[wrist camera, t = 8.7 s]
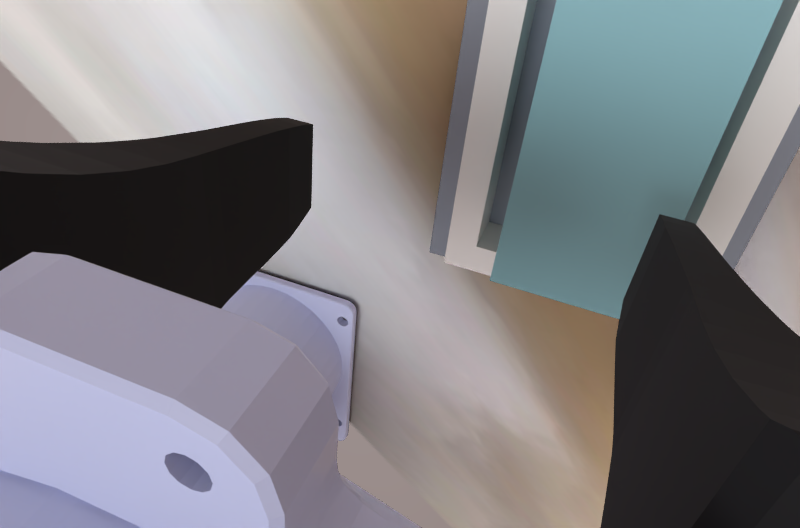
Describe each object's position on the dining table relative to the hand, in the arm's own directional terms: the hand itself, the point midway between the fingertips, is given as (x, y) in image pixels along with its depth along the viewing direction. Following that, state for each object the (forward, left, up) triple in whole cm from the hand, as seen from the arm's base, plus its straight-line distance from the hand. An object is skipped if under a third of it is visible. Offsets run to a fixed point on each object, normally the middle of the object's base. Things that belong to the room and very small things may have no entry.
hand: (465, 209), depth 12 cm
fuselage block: (0, -3, -8) cm, 8 cm away
